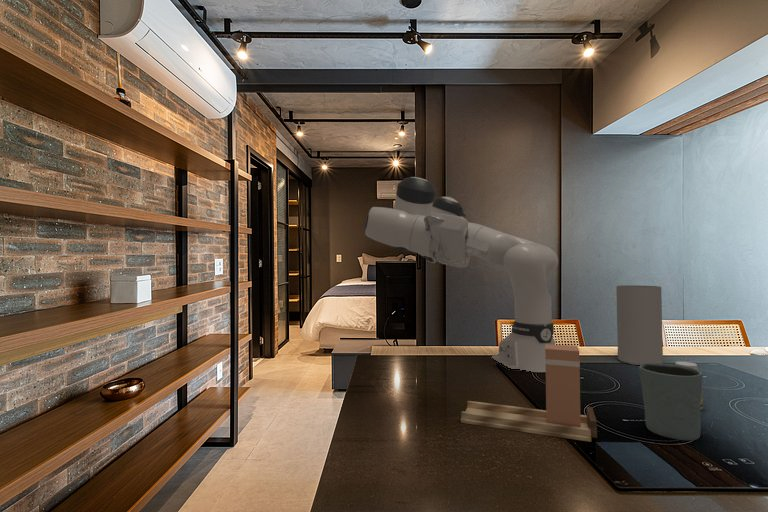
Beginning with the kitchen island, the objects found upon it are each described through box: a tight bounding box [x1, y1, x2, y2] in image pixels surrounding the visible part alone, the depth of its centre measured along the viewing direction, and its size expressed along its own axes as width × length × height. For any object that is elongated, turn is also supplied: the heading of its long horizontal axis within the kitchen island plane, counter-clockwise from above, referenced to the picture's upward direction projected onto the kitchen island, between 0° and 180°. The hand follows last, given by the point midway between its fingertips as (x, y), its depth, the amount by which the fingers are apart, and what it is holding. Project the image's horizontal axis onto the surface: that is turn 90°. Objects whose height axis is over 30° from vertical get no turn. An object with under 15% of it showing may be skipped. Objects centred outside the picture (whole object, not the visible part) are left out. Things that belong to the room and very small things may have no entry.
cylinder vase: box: [615, 284, 664, 366], centre depth 130 cm, size 12×12×25 cm
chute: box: [460, 400, 598, 443], centre depth 81 cm, size 25×9×4 cm, turn 67°
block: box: [545, 344, 581, 427], centre depth 78 cm, size 6×5×15 cm
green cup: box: [638, 363, 703, 441], centre depth 77 cm, size 10×10×12 cm
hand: (488, 251), depth 86 cm, fingers closed
